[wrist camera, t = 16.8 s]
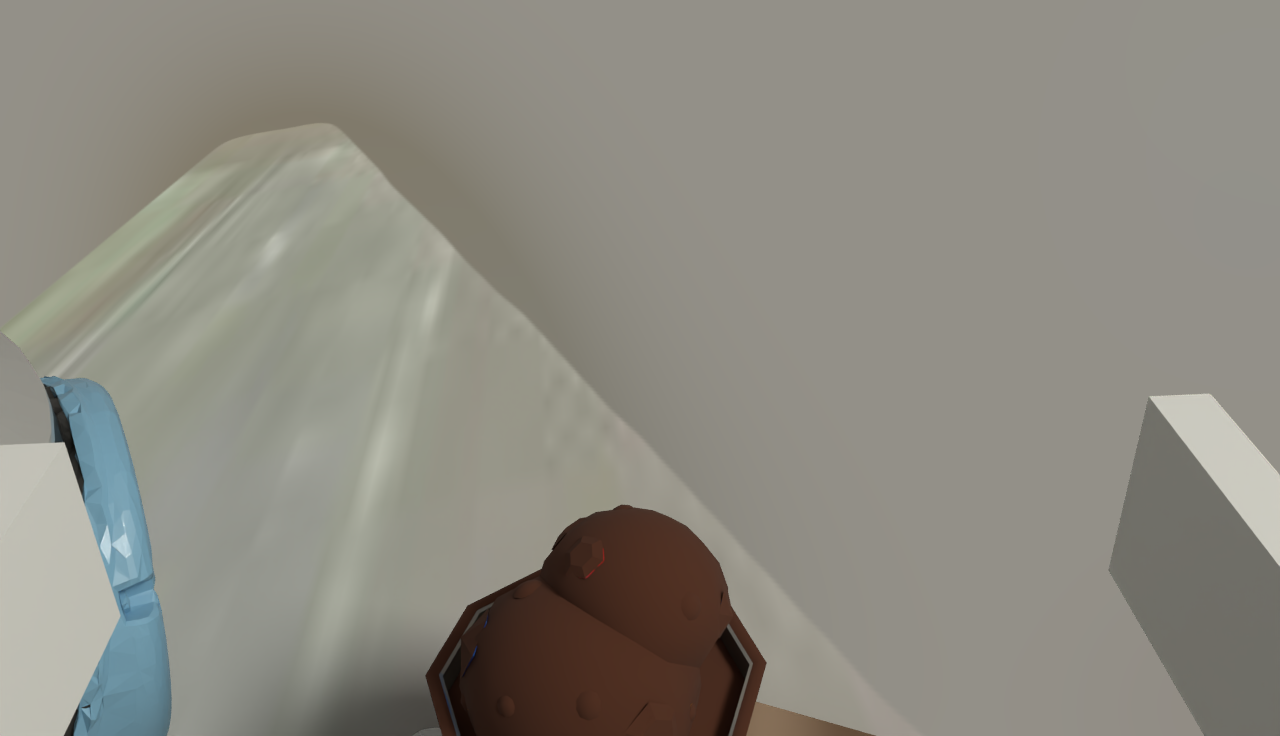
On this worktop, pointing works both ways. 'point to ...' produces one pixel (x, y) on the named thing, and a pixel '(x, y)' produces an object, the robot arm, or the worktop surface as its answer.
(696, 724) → the ice cream bowl
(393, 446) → the worktop surface
